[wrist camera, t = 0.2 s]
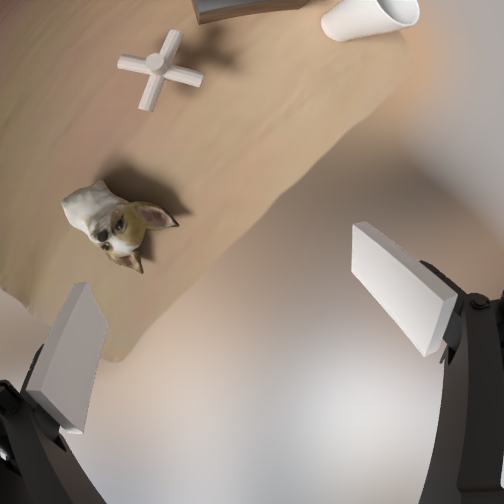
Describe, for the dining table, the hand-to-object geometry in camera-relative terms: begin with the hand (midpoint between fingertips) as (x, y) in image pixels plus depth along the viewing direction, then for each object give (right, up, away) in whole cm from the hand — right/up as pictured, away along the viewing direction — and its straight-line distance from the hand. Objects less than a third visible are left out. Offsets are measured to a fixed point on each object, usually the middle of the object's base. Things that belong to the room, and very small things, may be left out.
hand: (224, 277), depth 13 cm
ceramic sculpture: (-17, +6, +25) cm, 31 cm away
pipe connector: (-10, +24, +17) cm, 31 cm away
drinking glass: (+13, +34, +17) cm, 40 cm away
